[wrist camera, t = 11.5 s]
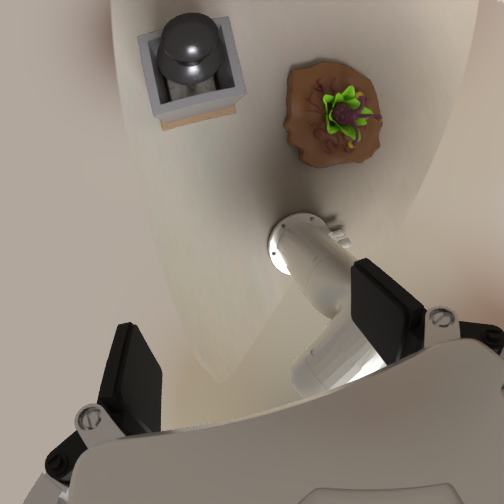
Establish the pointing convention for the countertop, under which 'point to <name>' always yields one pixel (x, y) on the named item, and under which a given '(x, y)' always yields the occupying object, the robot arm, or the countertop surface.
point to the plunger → (190, 55)
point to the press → (196, 106)
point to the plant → (332, 115)
